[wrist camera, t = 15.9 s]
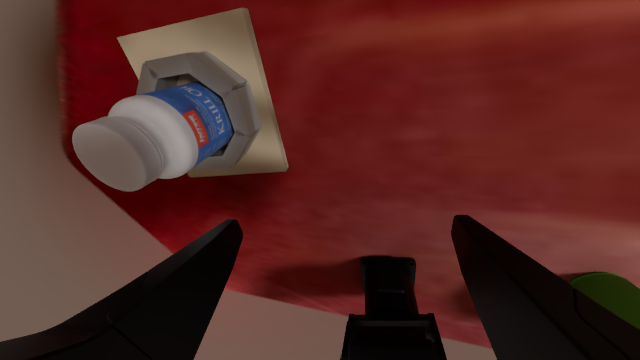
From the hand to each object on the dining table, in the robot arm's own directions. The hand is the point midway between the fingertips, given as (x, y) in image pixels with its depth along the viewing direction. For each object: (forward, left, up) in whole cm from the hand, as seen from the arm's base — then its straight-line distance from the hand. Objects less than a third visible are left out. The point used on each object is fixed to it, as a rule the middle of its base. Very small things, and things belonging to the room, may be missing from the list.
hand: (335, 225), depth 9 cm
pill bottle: (+3, +12, -12) cm, 17 cm away
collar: (+3, +12, -12) cm, 18 cm away
